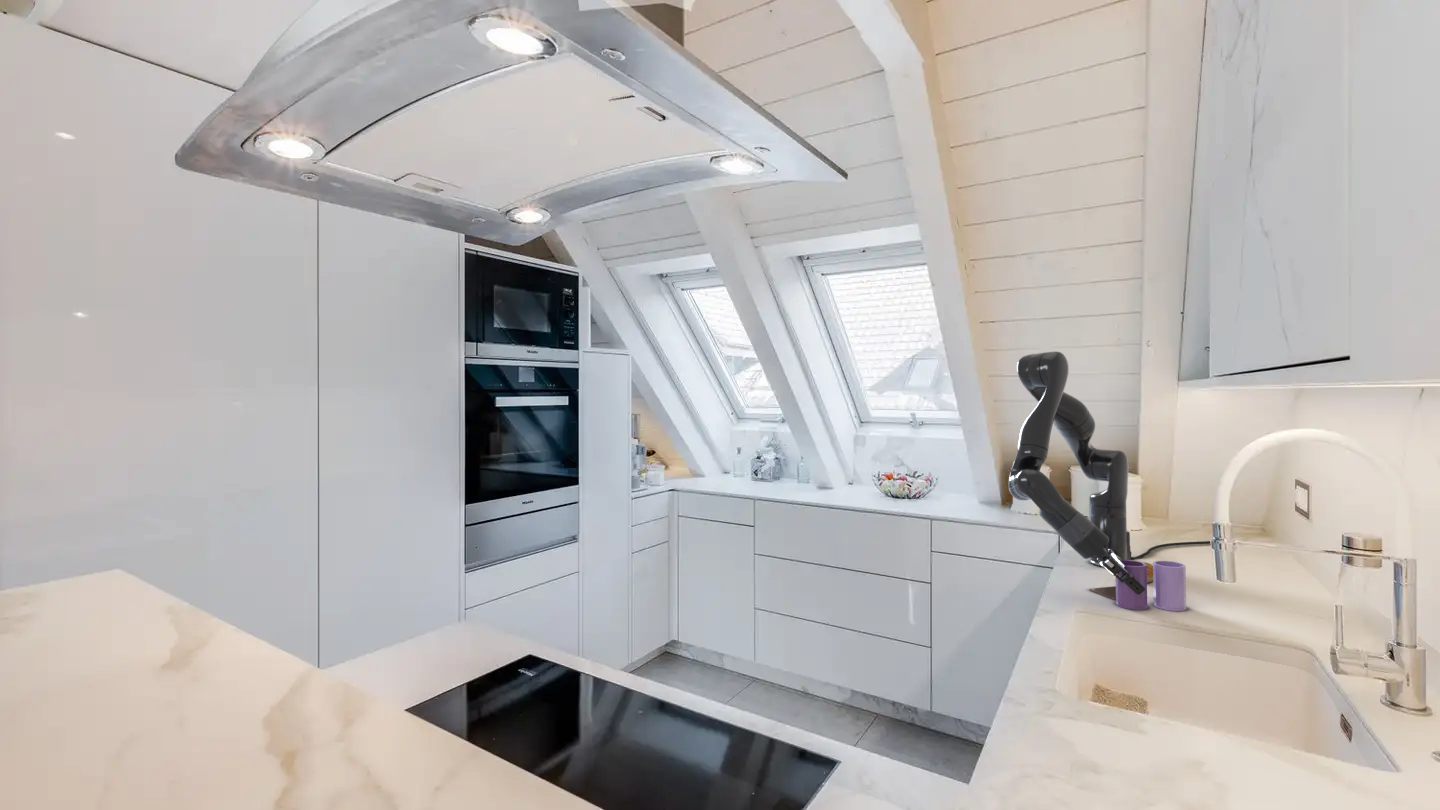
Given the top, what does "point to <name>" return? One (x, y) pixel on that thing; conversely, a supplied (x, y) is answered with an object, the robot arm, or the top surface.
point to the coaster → (1106, 591)
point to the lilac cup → (1169, 585)
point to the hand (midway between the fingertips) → (1138, 587)
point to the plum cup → (1125, 593)
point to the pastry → (1149, 572)
